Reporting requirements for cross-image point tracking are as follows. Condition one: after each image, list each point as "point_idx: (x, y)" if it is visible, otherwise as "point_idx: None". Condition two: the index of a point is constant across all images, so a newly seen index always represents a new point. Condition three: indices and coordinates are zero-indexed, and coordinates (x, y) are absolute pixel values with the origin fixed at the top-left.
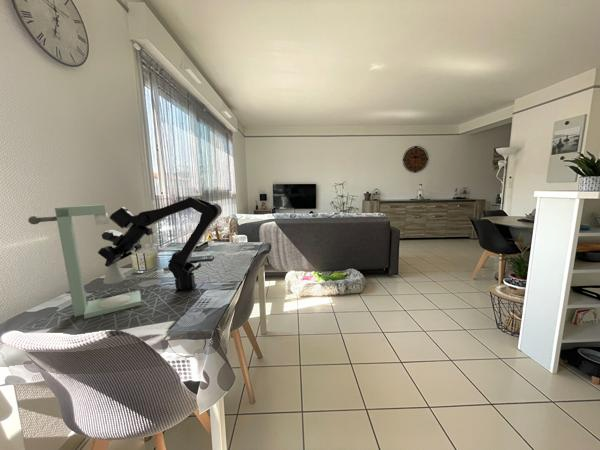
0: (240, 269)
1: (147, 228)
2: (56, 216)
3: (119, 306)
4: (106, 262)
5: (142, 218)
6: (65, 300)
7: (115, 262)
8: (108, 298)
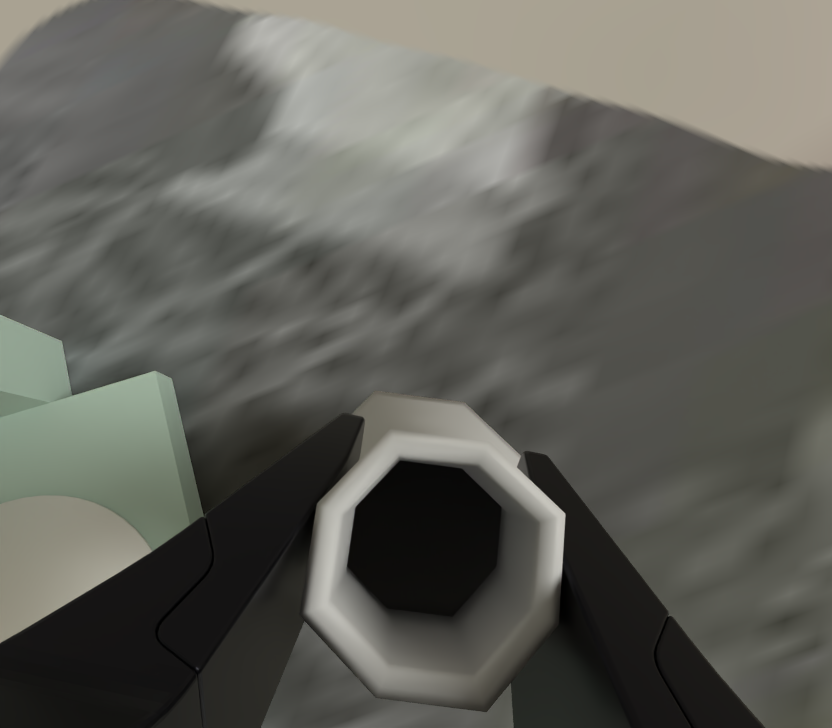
0: None
1: None
2: None
3: None
4: (287, 467)
5: None
6: (383, 138)
7: (406, 624)
8: (131, 542)
